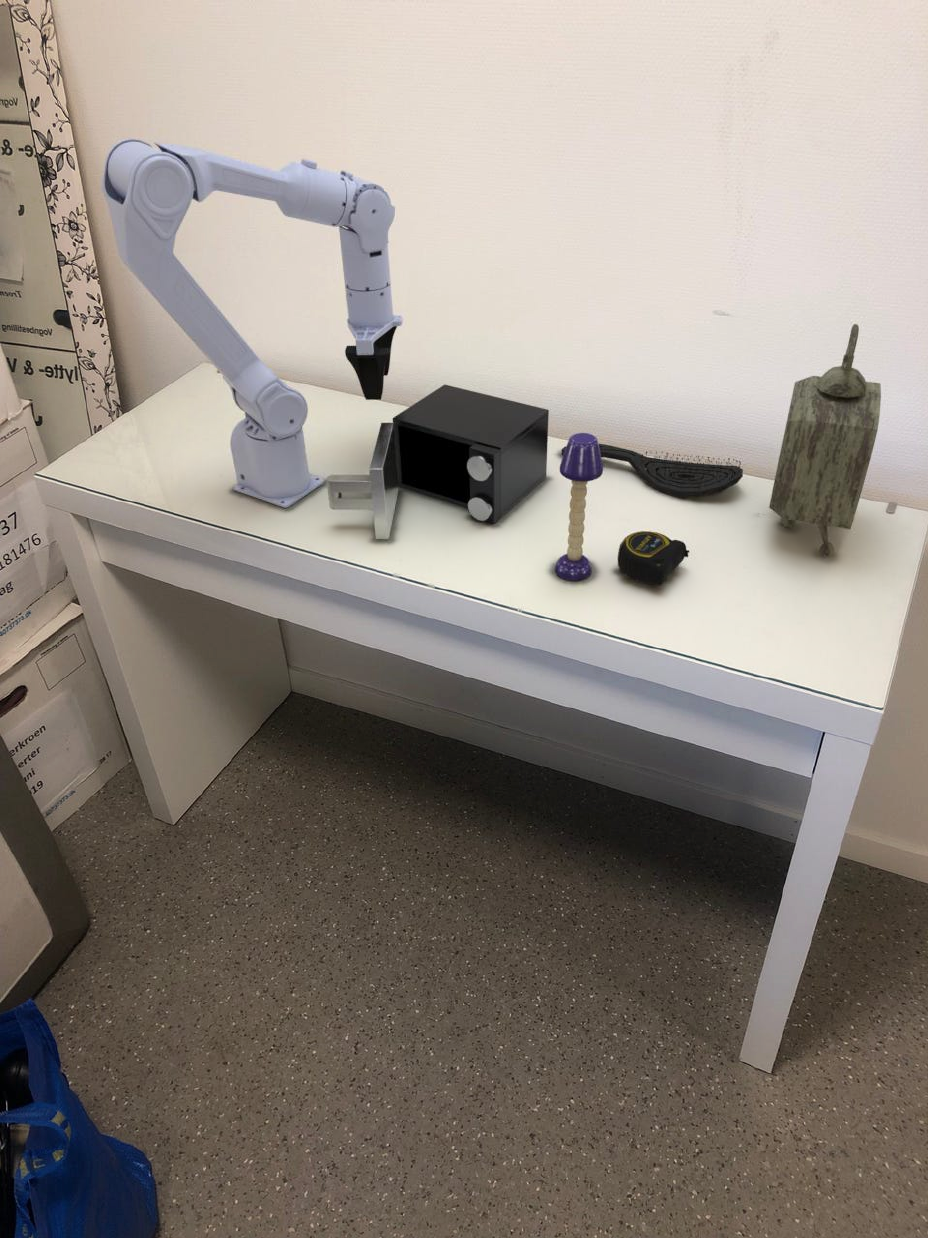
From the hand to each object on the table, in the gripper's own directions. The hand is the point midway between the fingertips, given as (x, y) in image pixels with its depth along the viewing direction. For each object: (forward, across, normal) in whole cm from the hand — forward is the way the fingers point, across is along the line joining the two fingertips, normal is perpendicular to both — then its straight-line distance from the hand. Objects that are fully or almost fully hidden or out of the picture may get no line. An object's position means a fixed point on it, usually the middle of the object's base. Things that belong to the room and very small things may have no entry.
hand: (377, 386), depth 123 cm
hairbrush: (+11, -5, -36) cm, 38 cm away
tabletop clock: (+11, -19, -54) cm, 58 cm away
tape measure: (+11, -28, -34) cm, 46 cm away
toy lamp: (+11, -28, -26) cm, 39 cm away
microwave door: (+10, -16, +1) cm, 19 cm away
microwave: (+10, -9, -12) cm, 18 cm away
